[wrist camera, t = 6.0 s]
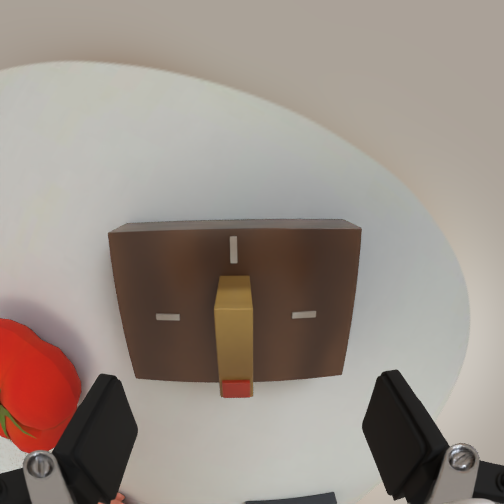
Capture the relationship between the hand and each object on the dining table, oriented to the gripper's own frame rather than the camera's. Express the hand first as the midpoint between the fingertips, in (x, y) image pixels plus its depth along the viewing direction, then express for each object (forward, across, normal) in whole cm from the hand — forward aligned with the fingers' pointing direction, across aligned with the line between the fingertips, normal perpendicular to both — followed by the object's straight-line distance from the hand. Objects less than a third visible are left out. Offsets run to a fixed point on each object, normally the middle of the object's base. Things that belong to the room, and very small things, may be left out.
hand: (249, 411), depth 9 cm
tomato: (+10, +20, +7) cm, 23 cm away
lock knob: (+7, +1, 0) cm, 7 cm away
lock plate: (+10, +1, 0) cm, 10 cm away
